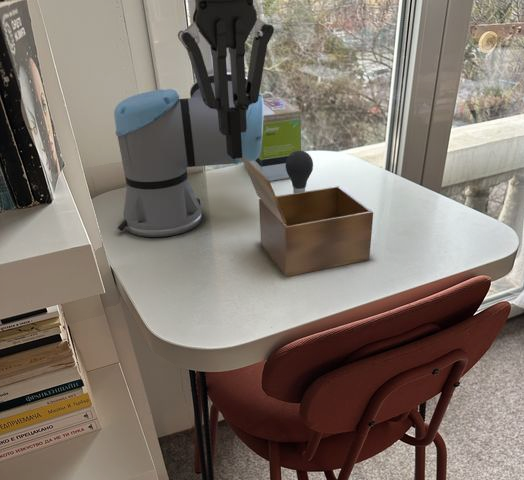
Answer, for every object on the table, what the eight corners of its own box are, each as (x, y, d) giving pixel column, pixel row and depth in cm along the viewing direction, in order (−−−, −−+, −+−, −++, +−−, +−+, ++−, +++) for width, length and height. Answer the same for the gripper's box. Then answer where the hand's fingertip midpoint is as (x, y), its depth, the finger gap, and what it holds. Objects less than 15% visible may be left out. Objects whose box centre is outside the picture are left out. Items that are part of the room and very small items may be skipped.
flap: (286, 222, 84) (284, 224, 84) (259, 194, 94) (257, 195, 94) (269, 180, 79) (267, 181, 79) (243, 155, 89) (240, 156, 89)
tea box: (243, 163, 137) (239, 99, 128) (281, 158, 139) (280, 95, 130) (261, 183, 125) (258, 114, 116) (302, 177, 127) (303, 109, 118)
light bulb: (297, 206, 113) (297, 157, 107) (280, 198, 117) (279, 150, 111) (318, 199, 116) (319, 151, 110) (301, 192, 119) (301, 145, 113)
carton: (286, 276, 89) (285, 227, 84) (260, 244, 99) (258, 198, 94) (369, 260, 93) (373, 211, 88) (336, 230, 103) (338, 185, 98)
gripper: (178, -34, 64) (199, 170, 78) (282, -40, 67) (284, 156, 81) (163, -35, 69) (186, 155, 83) (259, -40, 73) (265, 143, 87)
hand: (234, 155), depth 82 cm, fingers closed
